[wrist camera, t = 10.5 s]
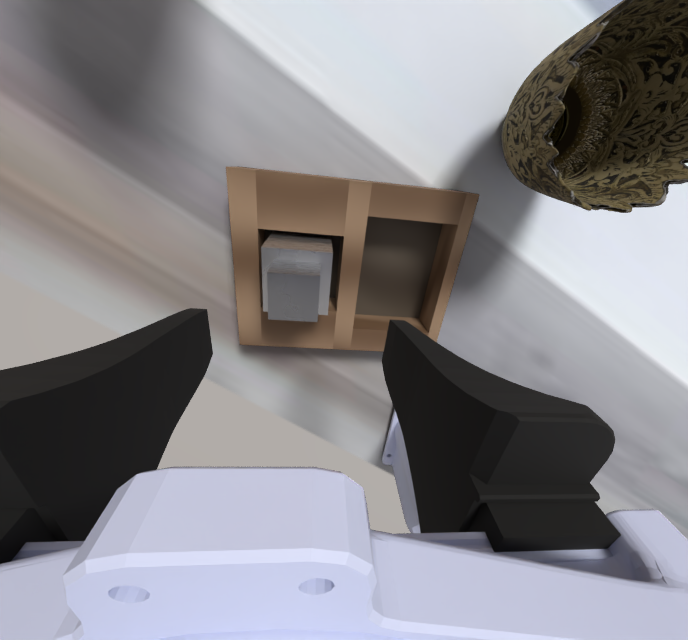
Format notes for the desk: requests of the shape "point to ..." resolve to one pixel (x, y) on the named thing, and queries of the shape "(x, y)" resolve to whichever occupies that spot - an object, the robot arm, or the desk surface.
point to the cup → (607, 111)
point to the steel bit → (296, 275)
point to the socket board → (349, 254)
